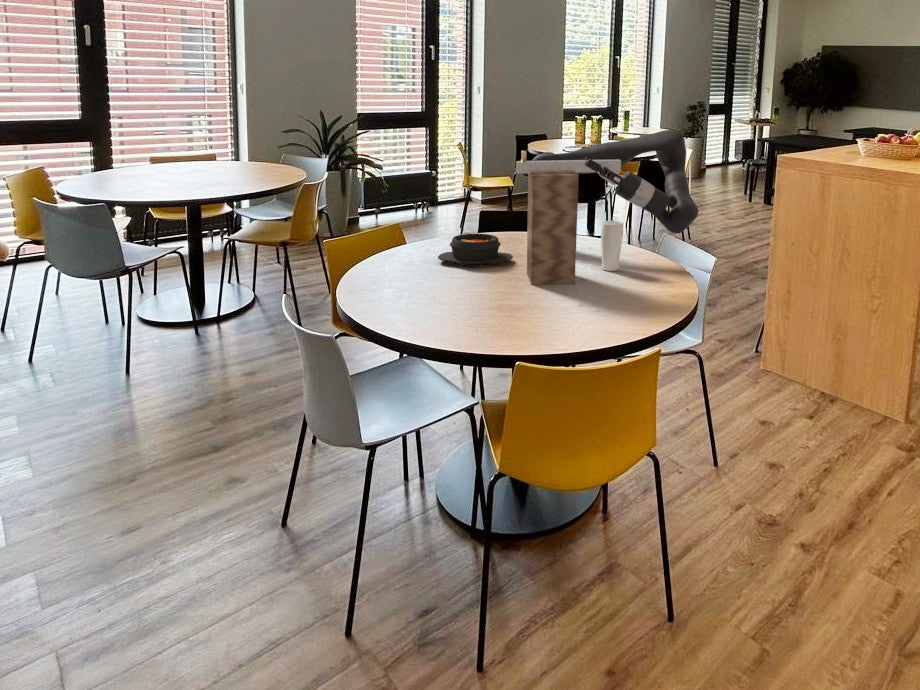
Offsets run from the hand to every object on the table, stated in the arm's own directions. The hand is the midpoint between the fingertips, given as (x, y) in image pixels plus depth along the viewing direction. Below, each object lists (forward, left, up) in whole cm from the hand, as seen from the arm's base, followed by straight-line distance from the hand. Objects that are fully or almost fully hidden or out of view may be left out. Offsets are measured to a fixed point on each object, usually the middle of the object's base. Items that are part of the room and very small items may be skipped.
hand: (586, 161), depth 231 cm
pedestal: (-7, -6, -35) cm, 36 cm away
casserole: (-39, -2, -35) cm, 53 cm away
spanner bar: (-4, -3, -3) cm, 6 cm away
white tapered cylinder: (+2, +15, -35) cm, 38 cm away
